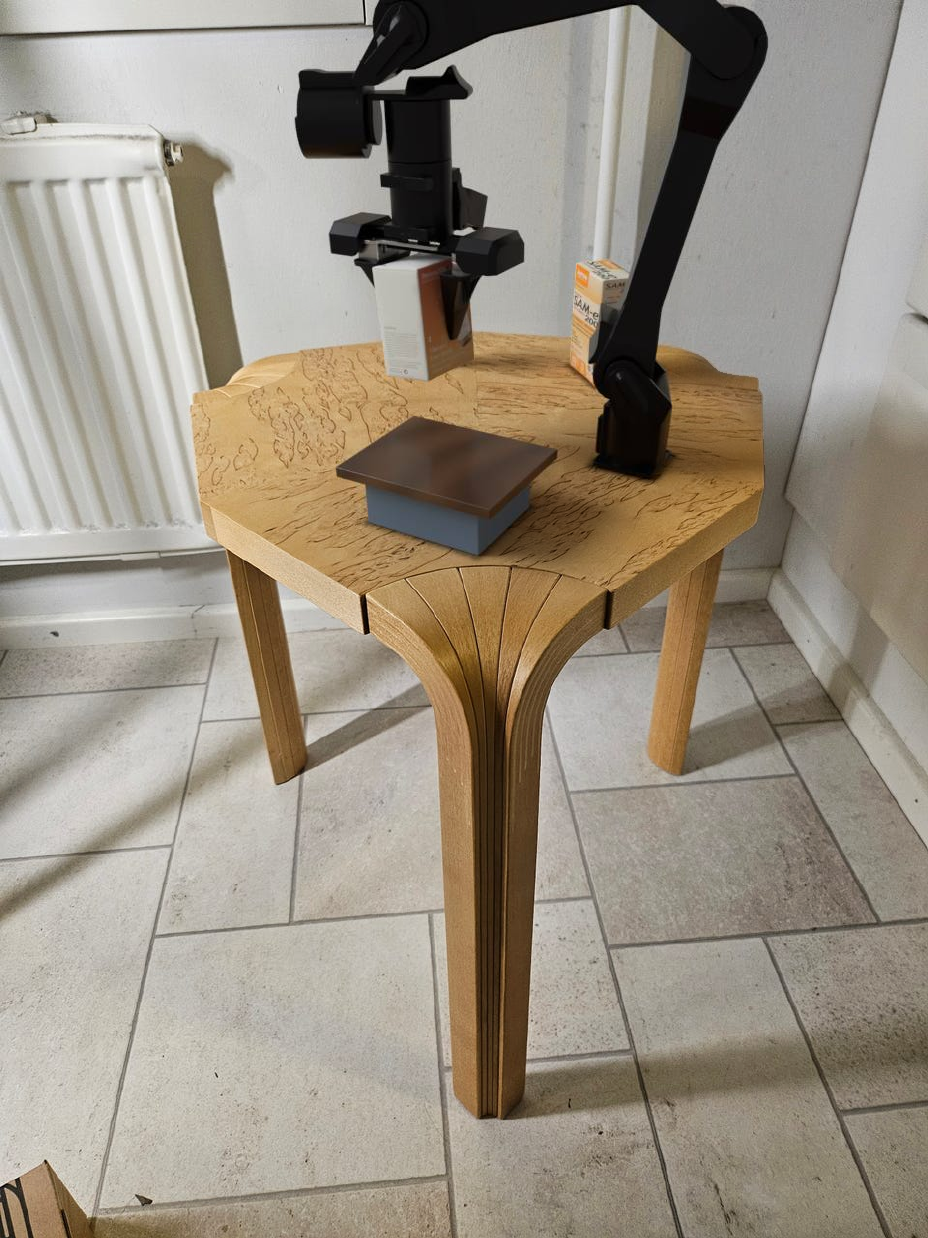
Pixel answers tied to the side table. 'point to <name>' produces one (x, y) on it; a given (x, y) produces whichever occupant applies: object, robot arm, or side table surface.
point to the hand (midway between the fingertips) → (428, 334)
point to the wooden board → (449, 465)
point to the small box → (418, 319)
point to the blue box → (441, 519)
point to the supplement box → (592, 306)
